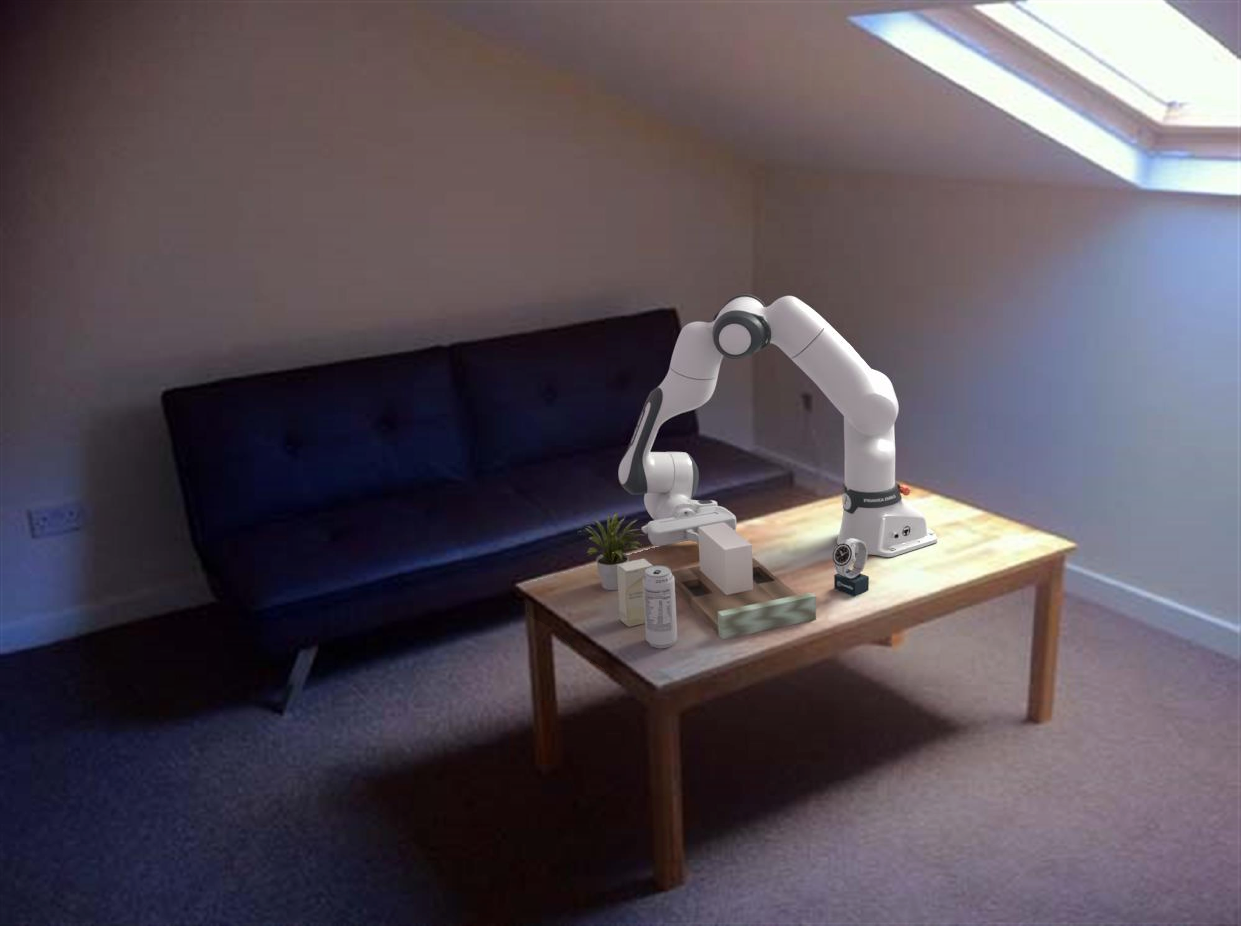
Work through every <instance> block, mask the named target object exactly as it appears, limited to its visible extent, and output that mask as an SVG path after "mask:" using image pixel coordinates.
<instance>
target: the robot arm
mask: <svg viewBox="0 0 1241 926" xmlns="http://www.w3.org/2000/svg"><path fill="white" fill-rule="evenodd" d="M770 344H771V345H772V344H773V345H774V346H777V347H778V348H779V349H780V350H781V351H782V352H783V354H785V355H786V356H788V358H789V359H790V360H791V361H793V363H794V364H795V365H796V366H797V367H798V368H799V369H801V370H802V372H804V373H805V375H807V377H808V378H809V379H811V380H812V381H813V383H814V384H816V386H817V387H818V388H819V389H820V390H821V392H822V393H823V394H824V395H825V396H826V397H827V399H828V400H829V401H830V403H832V404H833V406H834V408H836V409H837V410H838V411H839V412H840V413H841V414H842V416H843V436H844V437H843V438H844V440H843V441H844V443H843V444H844V481H843V483H842V495H841V497H842V500H841V501H842V502H841V503H842V509H843V511H842V518H841V524H840V529H839V533H838V535H837V536H838V537H837V539H836V543H837V545H839V544H841V543H842V542H843V541H845V540H847V539H849V538H854V539H857V540H860V541H863V542H864V543H865V544H866V546H867V554H868V555H873V556H879V557H884V558H894V557H896V556H898V555H901V554H905V553H908V552H911V551H914V550H917V549H922V548H923V547H926V546H929V545H933V544H935V543H937V542H938V536H937V534H936V532H935V531H933V530H932V529H931V528H929V527H928V526H927V520H926V516H925V514H924V513H923V512H922V511H921V510H920V509H919V508H917V507H916V506H915V505H914V504H912V503H911V502H909V501H908V500H906V499H904V498H903V497H902V494H903V495H904V496H907V497H908V496H909V495H910V494H911V493H912V492H911V491H912V489H911V488H910V486H907V485H905V484H902V485H901V484H900V483H898V482H897V481H896V440H895V437H896V435H895V422H896V420H897V418H898V415H899V410H900V409H899V407H900V405H899V401H898V398H897V394H896V392H895V389H894V386H893V383H892V382H891V379H889V377H888V376H887V375H885V374H884V373H882V372H881V371H879V370H876V369H873V368H871V367H870V366H869V365H868V364H867V363H866V361H865V360H864V359H863V358H862V357H861V356H860V354H859V353H858V352H857V351H856V350H855V349H854V347H853V346H852V345H851V344H850V343H849V342H848V341H847V340H846V339H845V338H844V337H843V336H842V335H841V334H840V333H839V332H838V331H837V330H836V329H835V328H834V327H833V326H832V325H831V324H830V323H829V322H828V321H827V320H826V319H825V318H823V317H822V316H821V315H820V314H819V313H818V312H816V310H815V309H813V308H812V307H810V306H809V305H808V304H806V303H805V302H803V300H801V299H799V298H798V297H796V296H793V295H785V296H782V297H779V298H778V299H776V300H775V301H773V302H772V303H771V304H770V305H768V306H766V304H765V303H764V301H763V300H761V299H760V298H759V297H757V296H755V295H753V294H746V293H744V294H739V295H736V296H734V297H732V298H731V299H729V300H728V301H726V303H725V304H724V305H723V306H722V308H721V309H720V310H719V311H718V312H717V313H716V314H715V315H714V317H713V321H712V322H705V321H693V322H689V323H687V324H686V325H684V326H683V327H682V329H681V331H680V333H679V335H678V337H677V340H676V342H675V346H674V348H673V352H672V355H671V360H670V364H669V368H668V372H667V373H666V375H665V378H664V379H663V380H662V382H661V383H660V384H659V385H658V386H657V387H656V388H654V389H652V390H651V391H650V393H649V394H648V396H647V398H646V400H645V403H644V405H643V408H642V411H641V412H640V415H639V417H638V420H637V423H636V427H635V428H634V432H633V433H632V434H633V435H632V436H631V439H630V442H629V444H628V447H627V449H626V451H625V453H624V454H623V456H622V458H621V459H620V463H619V466H618V473H617V475H618V477H617V478H618V483H619V484H620V486H621V487H622V488H624V490H625V491H627V492H628V493H629V494H630V495H633V496H635V495H644V497H643V501H644V506H645V509H646V511H647V513H648V514H649V515H650V517H651V518H652V519H653V520H650V521H649V522H648V523H646V524H645V525H643V526H642V527H641V532H642V533H644V535H647V536H648V537H647V538H648V540H649V542H650V543H651V544H652V545H653V546H654V547H663V546H668V545H672V544H679V543H684V542H694V543H697V544H698V545H699V532H698V527H701V526H706V525H712V524H717V523H722V522H725V523H726V524H727V525H728V526H729V527H731V528H732V529H733V530H734V531H736V530H737V516H736V515H735V514H734V513H732V512H731V511H730V510H728V509H727V508H726V507H723V506H720V505H718V501H716V500H712V499H710V500H709V499H708V500H701V499H700V500H699V499H698V500H696V499H693V497H694V496H695V494H696V492H697V489H698V486H699V480H700V474H699V473H700V472H699V467H698V466H697V463H696V462H695V460H694V458H693V457H692V456H691V455H690V454H689V453H687V451H685V452H683V451H665V452H664V451H651V450H652V447H653V445H654V442H655V440H656V437H657V434H658V432H659V429H660V427H661V426H662V425H663V424H664V423H665V422H666V421H668V420H669V419H671V418H673V417H676V416H678V415H680V414H682V413H683V414H684V413H687V412H690V411H693V410H696V409H698V408H700V407H702V406H703V405H704V404H706V403H707V402H709V400H710V399H711V398H712V396H713V394H714V393H715V390H716V386H717V382H718V378H719V377H718V376H719V372H720V366H721V365H722V361H723V358H724V357H725V358H727V359H731V360H742V359H745V358H749V357H750V356H751V355H753V354H756V353H757V352H761V350H764V349H766V348H767V347H768V346H769V345H770ZM855 545H856V548H855V554H857V552H858V551H859V546H858V543H856V544H855Z"/></svg>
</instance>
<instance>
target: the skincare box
mask: <svg viewBox="0 0 1241 926" xmlns="http://www.w3.org/2000/svg"><path fill="white" fill-rule="evenodd" d="M652 566H654V565H653V564H652V563H651V562H650V561H648V560H647V559H646V558H641V559H635V560H629V562H625V563H621V564H617V574H618V590H617V591H618V607H619V620H620V621H621V622H622V623H623V624H625V626H627V627H628V628H630V627H634V626H639V625H643V624H644V625H645V613H644V596H643V577H644V575H645V570H646V569H647V568H649V567H652Z"/></svg>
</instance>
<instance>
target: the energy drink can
mask: <svg viewBox="0 0 1241 926" xmlns="http://www.w3.org/2000/svg"><path fill="white" fill-rule="evenodd" d="M671 571H672V570H671V568H670V567H669V566H666V565H653V566H652V567H649V568H647V569H646V570H645V575H644V577H643V596H644V613H645V623H644V626H645V629H644V630H645V640H646V641H647V642H648V644H649V646H650V647H653V648H656V649H667V648H670V647H672V646H673V645H674V644H675V642H676V641H677V639H678V627H677V625H678V624H677V605H676V590H675V580H674V576H673V575H672V573H671Z"/></svg>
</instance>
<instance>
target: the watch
mask: <svg viewBox="0 0 1241 926" xmlns="http://www.w3.org/2000/svg"><path fill="white" fill-rule="evenodd" d="M856 543H858V546H859V551H858V552H857V553H855V548H856V545H855V544H856ZM831 555H832V556H831V557H832V561H833V566H834V568H835V570H836V573H835V574H834V575H833V576H834V577H833V578H834V579H833V583H834V584H833V589H834V590H837V591H839V592H842V593H844V594H847V595H850V596H852V597H858V596H859V595H861V594H864V593H865V592H867V591H870V590H869V587H870V586H869V585H870V583H869V580H870V576H868V575H866V574H863V573H861V572H863V570H864V569H865V567H866V563H867V559H868V555H869V554H867V546H866V544H865V543H864V542H863V541H860V540H857V539H854V538H849V539H847V540H845V541H843V542H842V543H841V544H839V545H838V544H837V545H836V546H835V547H834V549H833V551H832V554H831ZM851 565H852V569H850V568H849V567H850V566H851Z"/></svg>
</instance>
